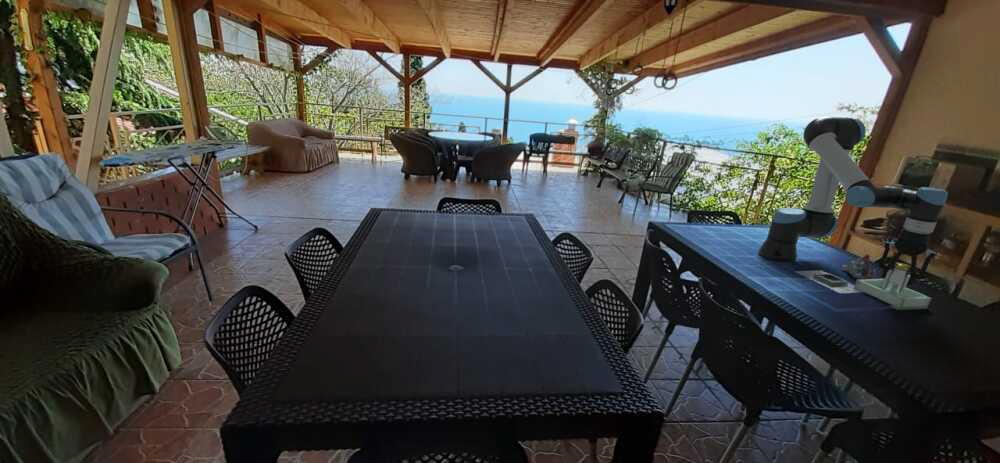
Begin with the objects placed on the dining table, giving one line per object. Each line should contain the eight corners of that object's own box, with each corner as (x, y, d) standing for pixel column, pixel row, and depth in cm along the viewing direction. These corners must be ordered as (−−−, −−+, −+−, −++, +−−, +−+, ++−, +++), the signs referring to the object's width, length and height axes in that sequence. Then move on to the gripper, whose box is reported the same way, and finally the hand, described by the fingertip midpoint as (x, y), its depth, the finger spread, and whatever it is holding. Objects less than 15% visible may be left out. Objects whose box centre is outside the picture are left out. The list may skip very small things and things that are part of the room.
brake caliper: (887, 281, 158) (873, 256, 157) (855, 291, 163) (842, 267, 163) (874, 271, 168) (861, 247, 168) (844, 280, 173) (831, 258, 173)
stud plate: (793, 273, 167) (795, 268, 167) (820, 272, 170) (822, 267, 169) (839, 295, 149) (841, 289, 148) (868, 294, 151) (871, 288, 151)
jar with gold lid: (877, 293, 149) (890, 262, 145) (887, 293, 150) (900, 262, 146) (891, 299, 145) (904, 267, 141) (901, 299, 146) (915, 267, 142)
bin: (853, 289, 155) (856, 279, 153) (879, 288, 157) (883, 278, 156) (898, 310, 140) (902, 299, 138) (926, 308, 142) (931, 298, 141)
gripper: (882, 226, 143) (860, 282, 151) (952, 239, 131) (924, 301, 138) (885, 222, 148) (864, 278, 156) (953, 235, 135) (926, 295, 143)
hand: (892, 288), depth 147 cm, fingers open, 4 cm apart
